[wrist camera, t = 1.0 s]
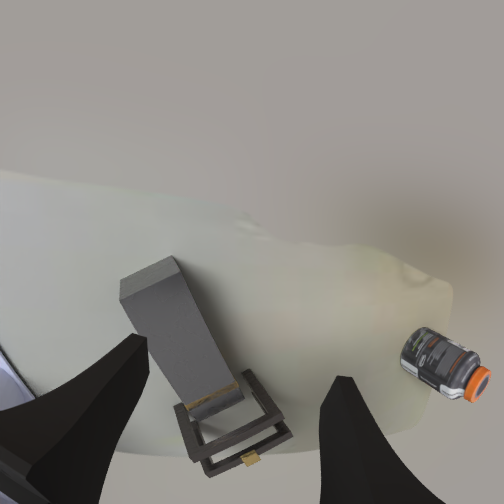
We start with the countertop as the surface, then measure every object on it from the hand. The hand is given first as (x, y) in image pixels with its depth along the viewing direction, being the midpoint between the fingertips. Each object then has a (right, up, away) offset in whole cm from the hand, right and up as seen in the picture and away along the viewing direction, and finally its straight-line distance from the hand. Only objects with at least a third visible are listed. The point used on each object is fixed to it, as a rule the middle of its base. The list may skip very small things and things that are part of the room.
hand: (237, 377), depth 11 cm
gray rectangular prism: (-5, -1, +12) cm, 13 cm away
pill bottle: (+21, -7, +24) cm, 32 cm away
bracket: (-3, -7, +14) cm, 16 cm away
